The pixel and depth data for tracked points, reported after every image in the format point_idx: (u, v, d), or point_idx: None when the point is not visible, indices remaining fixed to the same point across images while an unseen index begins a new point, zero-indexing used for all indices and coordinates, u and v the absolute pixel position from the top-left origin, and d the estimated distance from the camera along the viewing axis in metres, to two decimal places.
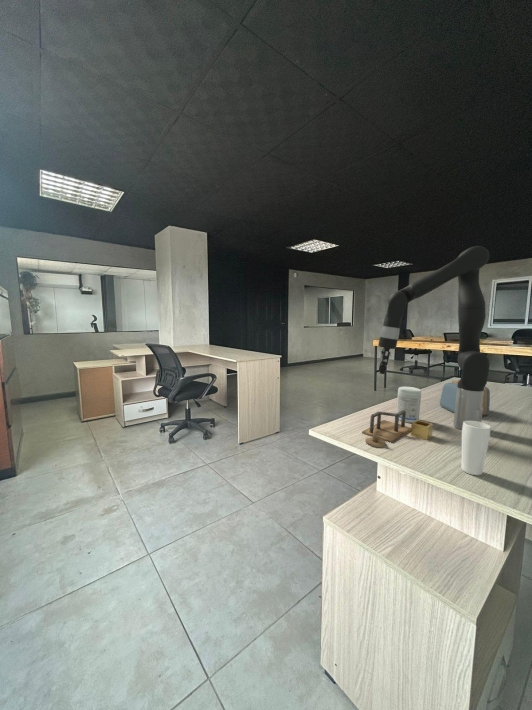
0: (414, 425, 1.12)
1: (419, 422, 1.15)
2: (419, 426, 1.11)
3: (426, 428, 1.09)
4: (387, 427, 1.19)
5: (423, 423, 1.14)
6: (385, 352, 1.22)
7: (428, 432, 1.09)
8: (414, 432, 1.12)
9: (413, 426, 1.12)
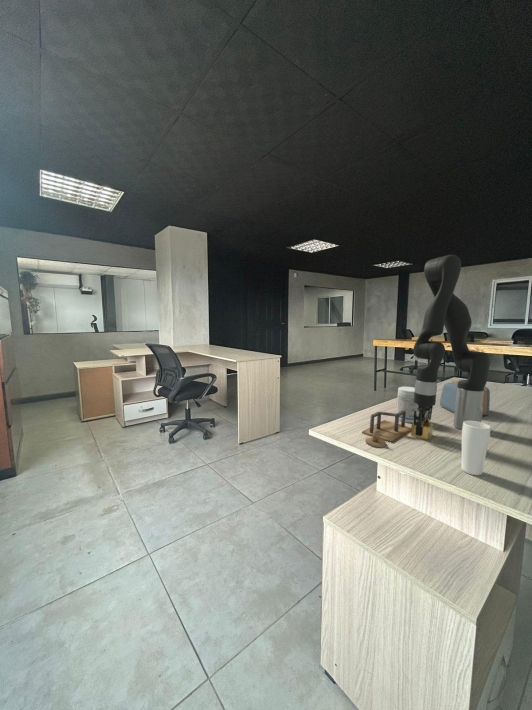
0: (414, 425, 1.12)
1: None
2: None
3: (426, 428, 1.09)
4: (387, 427, 1.19)
5: None
6: (416, 413, 1.08)
7: (428, 432, 1.09)
8: (414, 432, 1.12)
9: (413, 426, 1.12)
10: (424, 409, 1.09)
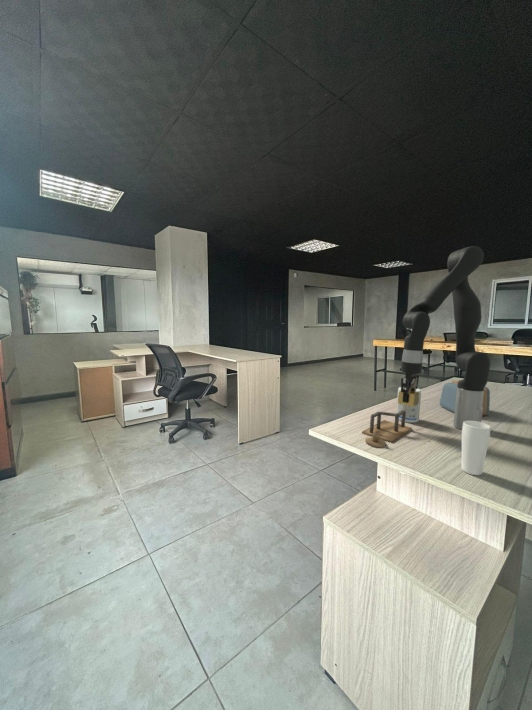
0: (401, 393, 1.17)
1: None
2: None
3: (412, 395, 1.14)
4: (387, 427, 1.19)
5: (410, 392, 1.19)
6: (403, 380, 1.12)
7: (414, 399, 1.14)
8: (401, 400, 1.17)
9: (400, 394, 1.17)
10: (411, 377, 1.14)
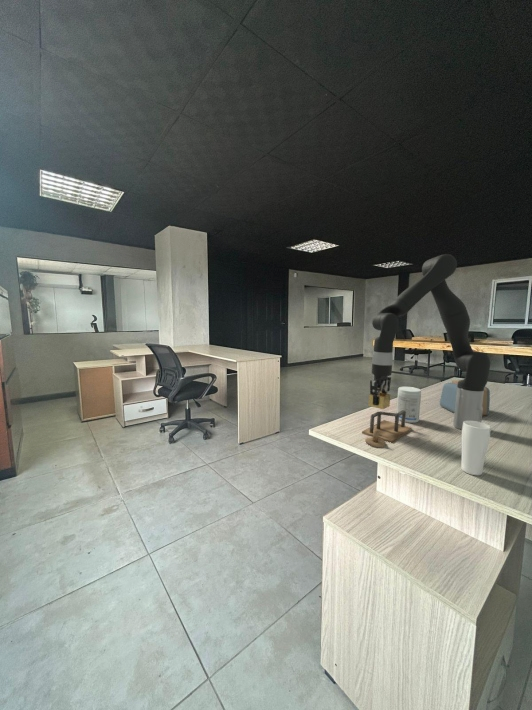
0: (371, 395, 1.15)
1: None
2: None
3: (382, 398, 1.12)
4: (387, 427, 1.19)
5: (381, 394, 1.17)
6: (371, 382, 1.11)
7: (384, 402, 1.12)
8: (372, 402, 1.15)
9: (371, 396, 1.15)
10: (380, 379, 1.12)
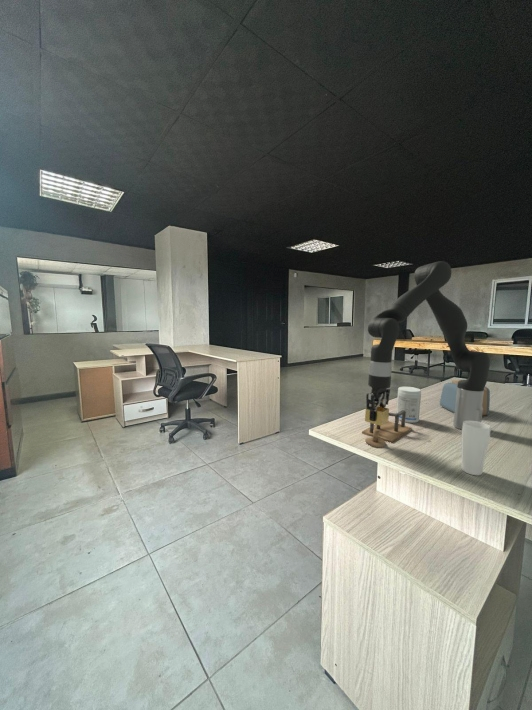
0: (368, 410, 1.03)
1: None
2: None
3: (380, 413, 1.00)
4: (387, 427, 1.19)
5: (379, 408, 1.05)
6: (368, 395, 0.99)
7: (382, 417, 1.00)
8: (368, 417, 1.03)
9: (367, 411, 1.03)
10: (378, 392, 1.00)
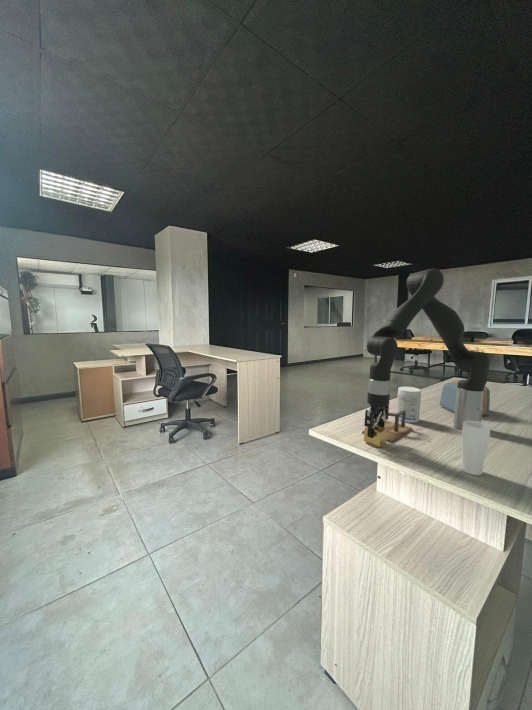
0: (367, 430, 1.04)
1: None
2: None
3: (378, 433, 1.01)
4: (387, 427, 1.19)
5: (378, 428, 1.06)
6: (367, 412, 0.99)
7: (381, 438, 1.01)
8: (367, 437, 1.04)
9: (366, 431, 1.04)
10: (377, 410, 1.01)
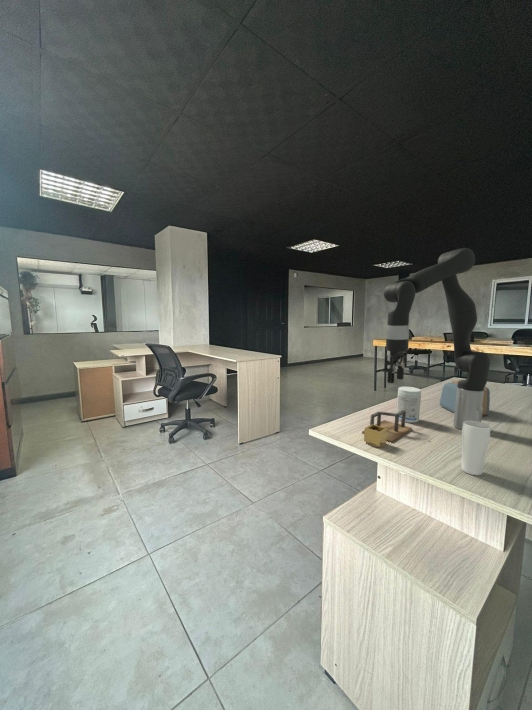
0: (367, 430, 1.04)
1: (374, 427, 1.07)
2: (372, 431, 1.03)
3: (378, 433, 1.01)
4: (387, 427, 1.19)
5: (378, 428, 1.06)
6: (387, 357, 1.00)
7: (381, 438, 1.01)
8: (367, 437, 1.04)
9: (366, 431, 1.04)
10: (396, 355, 1.02)
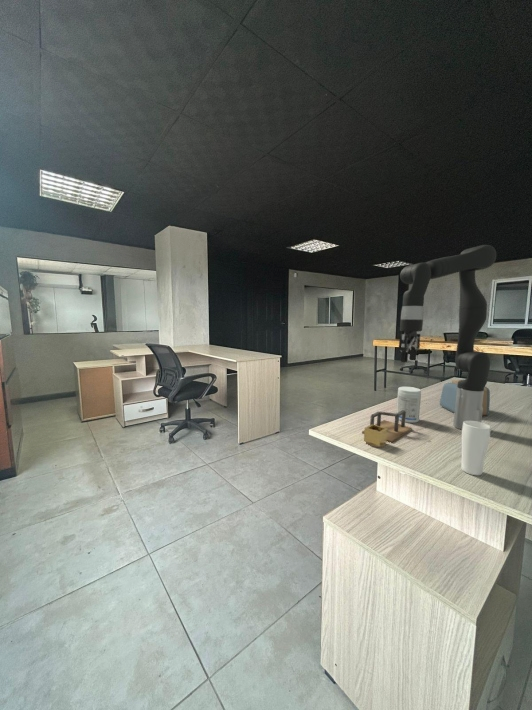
0: (367, 430, 1.04)
1: (374, 427, 1.07)
2: (372, 431, 1.03)
3: (378, 433, 1.01)
4: (387, 427, 1.19)
5: (378, 428, 1.06)
6: (401, 335, 1.03)
7: (381, 438, 1.01)
8: (367, 437, 1.04)
9: (366, 431, 1.04)
10: (410, 335, 1.05)
